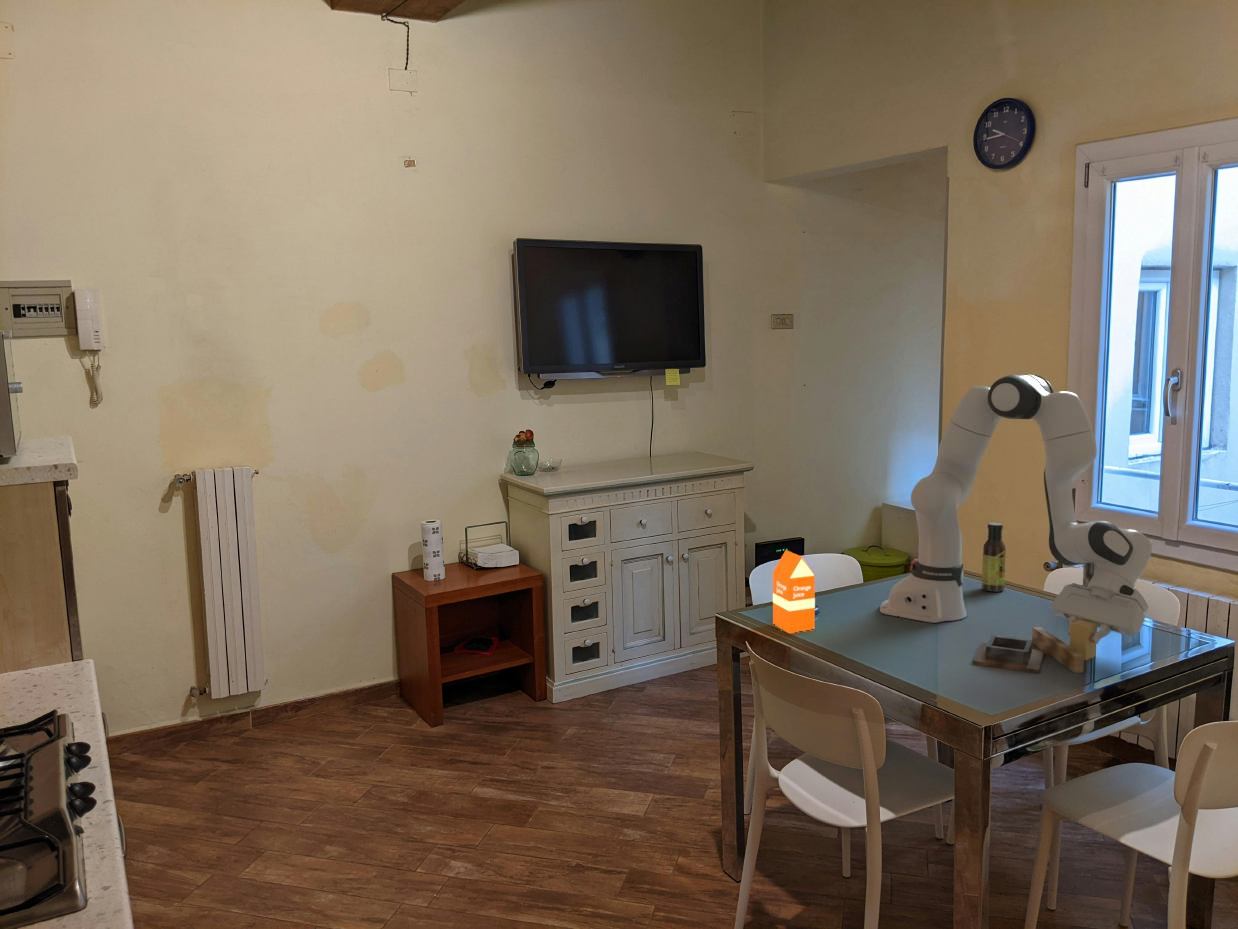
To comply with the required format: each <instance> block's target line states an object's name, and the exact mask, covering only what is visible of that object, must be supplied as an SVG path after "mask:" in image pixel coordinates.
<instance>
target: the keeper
mask: <svg viewBox="0 0 1238 929" xmlns="http://www.w3.org/2000/svg"><path fill="white" fill-rule="evenodd" d="M1044 656H1045V652H1044V650H1041V649H1037V648H1036V649H1034V648H1033V643H1032V639H1026V638H1019V637H1011V636H1003V635H994V634H990V637H989V639H988V641H987V642H980V645H979V647H978V649H977V650H976V653H975V655H974V657H973V658H972V665H976V666H977V665H978V666H984V667H989V668H990V667H991V668H996V669H997V668H999V669H1005V670H1010V671H1019V672H1027V673H1034V674H1040V669H1041V667H1042V663H1043V661H1044V660H1043V659H1044Z"/></svg>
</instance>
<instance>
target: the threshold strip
mask: <svg viewBox="0 0 1238 929" xmlns="http://www.w3.org/2000/svg"><path fill="white" fill-rule="evenodd" d="M1031 629H1032V631H1031V633H1032V634H1031V640H1032V645H1034V646H1035V647H1037V648H1038V649H1039V650H1044V654H1047V655H1048V656H1050V657H1052V659H1054V660H1055V661H1057V662H1058V663H1060V664H1061V665H1063V666H1064V667H1066V668H1067V669H1068V670H1070V671H1071V672H1073V673H1074V674H1075V673H1076V674H1078V673H1079V674H1081V673H1082V674H1083V673H1084V669H1085V668H1084V665H1085V660H1084V655H1083V654H1081V653H1080V652H1078V651H1077V650H1075V649H1074V648H1072V647H1070V644H1069V645H1068V644H1067V643H1066V642H1064V641H1063V640H1061V639H1060V638H1058V637H1057V636H1055V635H1054V634H1052V633H1050V632H1049V631H1048V630H1046V629H1044V628H1043V627H1041V626H1035V627H1034V626H1032V628H1031Z"/></svg>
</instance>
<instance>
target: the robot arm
mask: <svg viewBox="0 0 1238 929" xmlns="http://www.w3.org/2000/svg"><path fill="white" fill-rule="evenodd" d="M1054 391H1055V390H1054V388H1053V386H1052V385H1051V383H1050V382H1049V381H1048V380H1046V379H1045V378H1044V377H1042V376H1040V375H1037V374H1029V373H1018V374H1014V375H1013V374H1012V375H1006V376H1002V377H1000V378H999V379H997V380H996V381H994V382H993V383H992V385H991V386H990V387H989V386H985V385H976V386H972V387H970V388H969V389H968V390H967V391H966V392H965V394H964V395H963V396H962V398H961V399H960V401H959V403H958V405H957V406H956V408H955V410H954V412H953V414H952V416H951V417H950V420H949V422H948V424H947V426H946V429H945V430H944V433H943V436H942V437H941V441H940V443H939V444H938V452H937V457H936V461H935V465H934V467H933V470H932V472H931V473H930V474H929V475H927V476H925V477H923V478H921V479H920V480H919V481H918V482H917V483H916V484H915V486H914V487H913V488H912V491H911V493H910V503H911V505H912V507H913V509H914V513H915V514H914V515H915V519H916V524H917V529H918V532H917V533H918V558H914V559H913V560H912V561H911V564H910V574H909V575H907V576H906V577H904V578H902V579H900V581H898V582H897V583H895V584H894V585H893V586H892V587H891V590H890V592H889V596H888V599H885V600H884V601H883V602H882V603H881V604H880V605H879V606H880V607H879V610H880V612H881V613H882V614H883V613H884V614H883V615H888V616H894V617H898V616H899V618H904V619H910V620H916V621H922V622H926V623H932V624H934V623H942V622H949V621H950V622H951V621H958V620H963V619H965V618H966V617H967V615H968V614H967V611H966V606H965V601H964V595H963V584H964V576H965V575H964V572H965V570H964V563H963V558H962V556H963V534H962V532H961V529H960V526H959V525H960V524H959V518H958V508H959V507H961V506H962V505H964V504H965V503H966V501H967V500H968V498H969V497H970V494H971V490H972V487H973V485H974V482H975V479H976V476H977V472H978V468H979V466H980V464H981V460H982V458H983V456H984V454H985V452H986V450H987V447H988V445H989V444H990V442H991V439H992V437H993V434H994V433H995V430H996V428H997V426H998V425H999V422H1000V421H1001V420H1002V419H1003V418H1005V419H1009V420H1010V419H1011V420H1033V422H1035V423H1036V424H1037V425H1038V427H1039V430H1040V433H1041V438H1042V440H1043V441H1042V442H1043V445H1044V450H1045V462H1046V463H1045V467H1044V471H1043V484H1044V493H1045V501H1046V509H1047V514H1048V524H1049V532H1048V533H1049V534H1048V548H1049V551H1050V553H1051V555H1052V556H1053V558H1054V559H1055V560H1056V561H1057V562H1058V563H1059V564H1061V565H1064V566H1068V567H1074V566H1078V565H1084V563H1094V564H1095V565H1096V566H1097V570H1096V572H1095V574H1094V575H1093V577H1092V579H1091V581H1090V582H1089V584H1088V586H1085V585H1083V584H1079V583H1075V582H1072V583H1070V584H1067V585H1064V587H1063V588H1062V590H1061V591H1060V592H1059V594H1057V596H1056V597H1055V599H1054V600H1053V602H1052V603H1051V610H1052V611H1053V613H1054V614H1055V615H1056V616H1057V617H1058V618H1063V619H1067V620H1068V624H1069V625H1068V626H1069V628H1067V629H1068V630H1067V631H1066V634H1067V636H1068V637H1070V628H1071V623H1072V622H1075V621H1078V620H1084V621H1088V622H1092V623H1095V624H1097V628H1100V629H1099V630H1097V632H1096V633H1091V636H1090V637H1089V640H1090V642H1092V643H1095V644H1096V645H1098V644H1099V642H1100V640H1101V639H1103V638H1105V637H1106V636H1108V635H1109V634H1110V633H1111V632H1114V633H1118V634H1121V635H1122V634H1123V635H1126V636H1128V637H1134V636H1135V635H1137V634H1139V633H1140V631H1141V629H1142V627H1143V625H1144V622H1145V619H1146V614H1145V613H1146V612H1148V610H1149V604H1148V603H1147V601H1146V598H1144V596H1143V594H1142V593H1141V592H1140V591H1139V590H1137V589H1136V588H1135V585H1136V582H1137V581H1138V580H1139V579H1140V578H1141V577H1142V576H1143V574H1144V571H1145V570H1146V568H1147V565H1148V563H1149V561H1150V558H1151V555H1152V550H1153V548H1152V543H1151V541H1150V540H1149V538H1148V537H1147V535H1145V534H1143V533H1141V532H1140V531H1138V530H1135V529H1133V528H1127V529H1126V528H1125V529H1124V528H1121V527H1118V526H1116V525H1115V524H1114V523H1112V522H1110V521H1108V520H1107V521H1106V520H1096V521H1090V522H1085V523H1084V522H1083V523H1078V522H1077V519H1076V512H1075V505H1074V504H1075V503H1074V498H1073V487H1074V484H1075V482H1076V480H1078V478H1079V477H1080V476H1081V475H1082V474H1083V473H1084V472H1085V471H1087V470H1088V469H1089V468H1090V467H1091V466H1092V464H1093V463H1094V462H1095V460H1096V456H1097V453H1098V452H1097V448H1098V447H1097V441H1096V438H1095V435H1094V431H1093V427H1092V423H1091V421H1090V418H1089V415H1088V413H1087V410H1086V408H1085V407H1084V405H1083V402H1082V401H1081V399H1080V398H1079V396H1078V395H1077V394H1076V393H1074V392H1072V391H1066V390H1065V391H1063V390H1062V391H1061V390H1060V391H1056V392H1054Z"/></svg>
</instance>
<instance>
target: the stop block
mask: <svg viewBox="0 0 1238 929" xmlns="http://www.w3.org/2000/svg"><path fill="white" fill-rule="evenodd" d="M1096 632H1098V627H1097V624H1095V623H1092V622H1088V621H1084V620H1078V621H1075V622H1072V623H1071V628H1070V636H1069V646H1070V647H1072V648H1074V649H1075V650H1077V651H1078V652H1080V653H1081V654H1083V655H1084V661H1088V660H1090V659H1091V660H1092V659H1093V658H1096V657H1097V644H1095V643H1092V642H1090V640H1089V637H1090V636H1091V633H1096Z"/></svg>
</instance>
